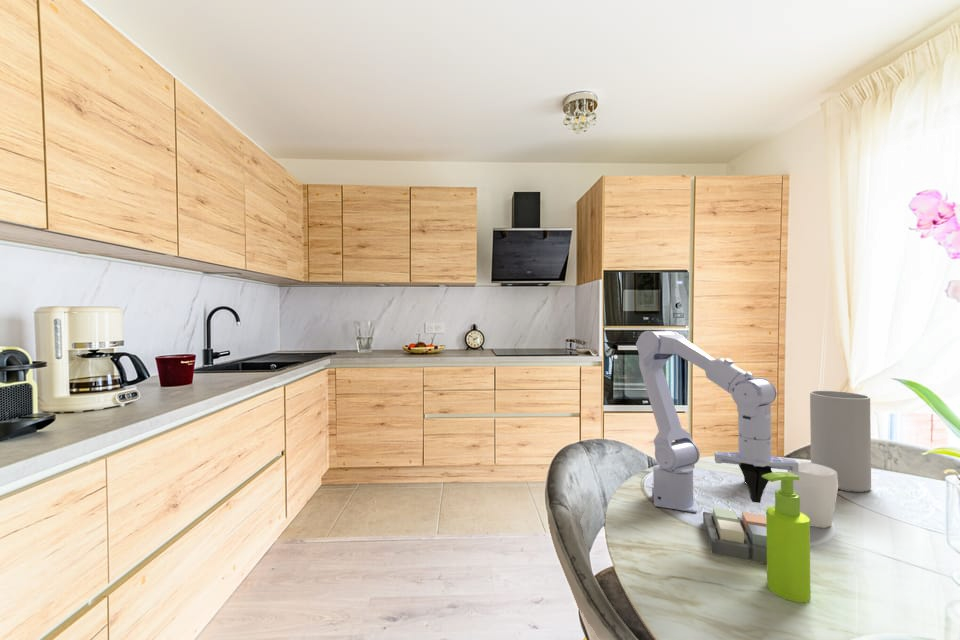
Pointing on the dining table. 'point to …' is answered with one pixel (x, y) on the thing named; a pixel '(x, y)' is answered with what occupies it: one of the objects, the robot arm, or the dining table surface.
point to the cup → (816, 492)
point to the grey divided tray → (733, 543)
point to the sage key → (724, 515)
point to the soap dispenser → (787, 542)
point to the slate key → (757, 535)
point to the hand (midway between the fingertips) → (755, 500)
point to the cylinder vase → (842, 437)
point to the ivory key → (730, 531)
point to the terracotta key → (753, 520)
